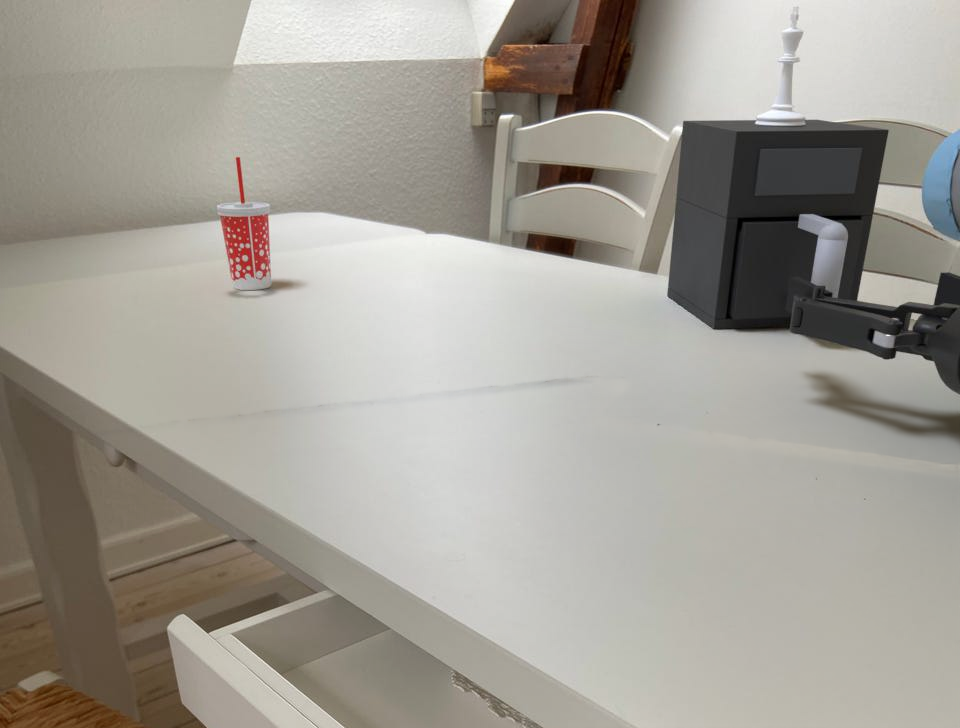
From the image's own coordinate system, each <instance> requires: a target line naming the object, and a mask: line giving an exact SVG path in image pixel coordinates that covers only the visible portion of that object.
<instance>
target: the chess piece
mask: <svg viewBox="0 0 960 728" xmlns="http://www.w3.org/2000/svg"><path fill="white" fill-rule="evenodd" d="M797 21H799V6H793V7H792V12H791V14H790V27H788V28H786V29H783V30H782V31H781V38H782V45H783V46H782V47H783V52H784V54H783V56H781V57H778V58H777V62H778V63H782V64H783V65H782V68H781V69H782V70H781V73H780V78H779V83H778V87H777V91H776V94H775V99H774V101H773V104H772V105H770V107H771V108H772V109H770V110H768V111H765V112H762V113H760V114H758V115H757V116H756V118H755V120H757V121H756V122H755V124H756V125H761V126H804V125H806V124H805V120H807V118H806V115H804V114H802V113H800V112H797V111H795V110H793V108H795V105H793V74H794V73H793V72H794V64H795V63H800V62H801V58H800V57H799V56H796V52H797V50H798V48H799V45H800V42H801V40H802V38H803V36H804V30H803V29H801V28H798V27H797V23H798V22H797Z"/></svg>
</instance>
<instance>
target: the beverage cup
mask: <svg viewBox="0 0 960 728" xmlns="http://www.w3.org/2000/svg"><path fill="white" fill-rule="evenodd" d="M235 163H236V170H237V171H236V172H237V182H238V189H239V198H240V201H237V202H226V203H221V204H217V205H216V211H217V215H219V218H220V224H221V228H222V235H223V238H224V239H223V240H224V245H225V251H226V257H227V261H228V267H229V273H230V280H231V284H232V288H233V289H235V290H240V291H242V290H243V291H257V290H265V289H269V288H270V287H272V267H271V266H272V265H271V264H272V263H271V246H270V245H271V244H270V223H269V214H271V209H270V208H271V204H270V203H267V202H260V201H259V202H258V201H246V200H245V190H244V181H243V173H242V163H241V157H240V156H235Z"/></svg>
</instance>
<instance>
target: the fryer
mask: <svg viewBox="0 0 960 728" xmlns="http://www.w3.org/2000/svg"><path fill="white" fill-rule="evenodd" d="M756 121H757V119H737V120H735V119H733V120H732V119H731V120H727V119H725V120H720V119H719V120H683V121H682V130H681V141H680V152H679V162H678V173H677V174H678V175H677V185H676V196H675V206H674V217H673V226H672V227H673V228H672V229H673V230H672V238H671V251H670V261H669V262H670V263H669V272H668V284H667V294H666V296H667V297H668V298H669V299H670V300H672V301H674V302H675V303H676V304H678V305H679V306H681V307H682V308H683V309H685V310H686V311H688V312H689V313H690V314H692V315H694V316H695V317H696V318H697V319H699V320H701V321H702V322H703V323H704V324H706V325H707V326H709V327H710V328H712V329H713V330H726V329H727V330H728V329H730V330H731V329H757V328H759V329H761V328H784V327H785V328H787V327H789V328H790V324H791V317H786V318H756V319H733V318H731V316H730V315H729V314H727V305H728V297H729V289H730V280H731V272H732V264H733V256H734V248H735V239H736V231H737V223H738V218H763V217H799V216H800V214H814V215H817V216H820V217H823V218H826V219H829V220H862V221H863V227H862V232H861V238H860V243H859V249H858V254H857V260H856V265H855V271H854V276H853V282H852V287H851V293H850V298H849V300H854V301H858V298H859V294H860V293H859V292H860V288H861V282H862V277H863V276H862V275H863V271H864V266H865V261H866V256H867V250H868V245H869V238H870V233H871V228H872V223H873V218H874V217H873V216H874V213H875V207H876V201H877V195H878V190H879V186H880V180H881V174H882V170H883V163H884V157H885V154H886V147H887V143H888V137H889V129H887V128H886V129H885V128H878V127H872V126H864V125H859V124H850V123H844V122H836V121H829V120H823V119H822V120H821V119H805V124H806V125H804V126H761V125H756V124H755V122H756Z"/></svg>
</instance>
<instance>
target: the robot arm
mask: <svg viewBox="0 0 960 728" xmlns="http://www.w3.org/2000/svg"><path fill="white" fill-rule="evenodd" d="M922 179H923V180H922V184H921V203H922V208H923V212H924V214H925V216H926V219H927V220H928V222H929V223H930V225H931V226H932V229H934V230H935V231H937V232H938V233H940V234H942V235H943V236H945V237H947V238H949V239H952V240H954V241H957V242H959V243H960V128H958V129H957V130H956V131H954V132H953V133H952V134H949V135H948V136H947V137H946V138H945V139H943V141H942V142H941V143H940V144H939V146H938V147H937V148H936V150H935V151H934V152H933V154H932V156H931V158H930V159H929V162H928V164H927V166H926V169H925V172H924V175H923V178H922ZM825 287H826V286H817V285H815V284H813V283H811V282H809V281H806V280H804V279H802V278H800V277H790V282H789V289H788V295H787V302H786V308H785V310H786V311H788V312H790V313H791V314H792V317H791V324H790V326H789V332H790V333H793V334H794V335H799V336H804V337H807V338H808V337H809V338H812V339H816V340H820V341H824V342H827V343H832V344H835V345H840V346H844V347H847V348H852V349H855V350H859V351H863V352H867V353H868V354H871V355H874V356H876V357H878V358H881V359H883V360H887V361H889V360H893V359H895V358H896V356H897V353H898V352H899V353H904V354H910V355H915V356H921V357H922V358H923V359H924V360H926V361H929V362H933V363H934V366H935V368H936V371H937V374H938V376H939V378H940V380H941V381H942V382H943V384H944V385H945V386H946V387H947V388H948V389H949V390H951V391H952V392H954V393H956V394H957V395H960V275H957V274H955V273H951V272H949V271H948V272H940V274H939V279H938V283H937V288H936V291H935V297H934V301H933V304H929V303H922V302H921V303H920V302H913V301H907V302H904V303H902V304H900V305H898V306H893V305H887V304H879V303H875V302H874V303H873V302H867V301H860V300H857V301H854V300H847V299H840V298H834V297H832V295H833V293H832V292H830V291H828V290H826V289H825ZM912 314H918V315H919V316H918V317H917V319H916V321H915V322H914V324H913V326H912V329H910V325H911V324H910V323H911V318H912Z"/></svg>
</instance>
